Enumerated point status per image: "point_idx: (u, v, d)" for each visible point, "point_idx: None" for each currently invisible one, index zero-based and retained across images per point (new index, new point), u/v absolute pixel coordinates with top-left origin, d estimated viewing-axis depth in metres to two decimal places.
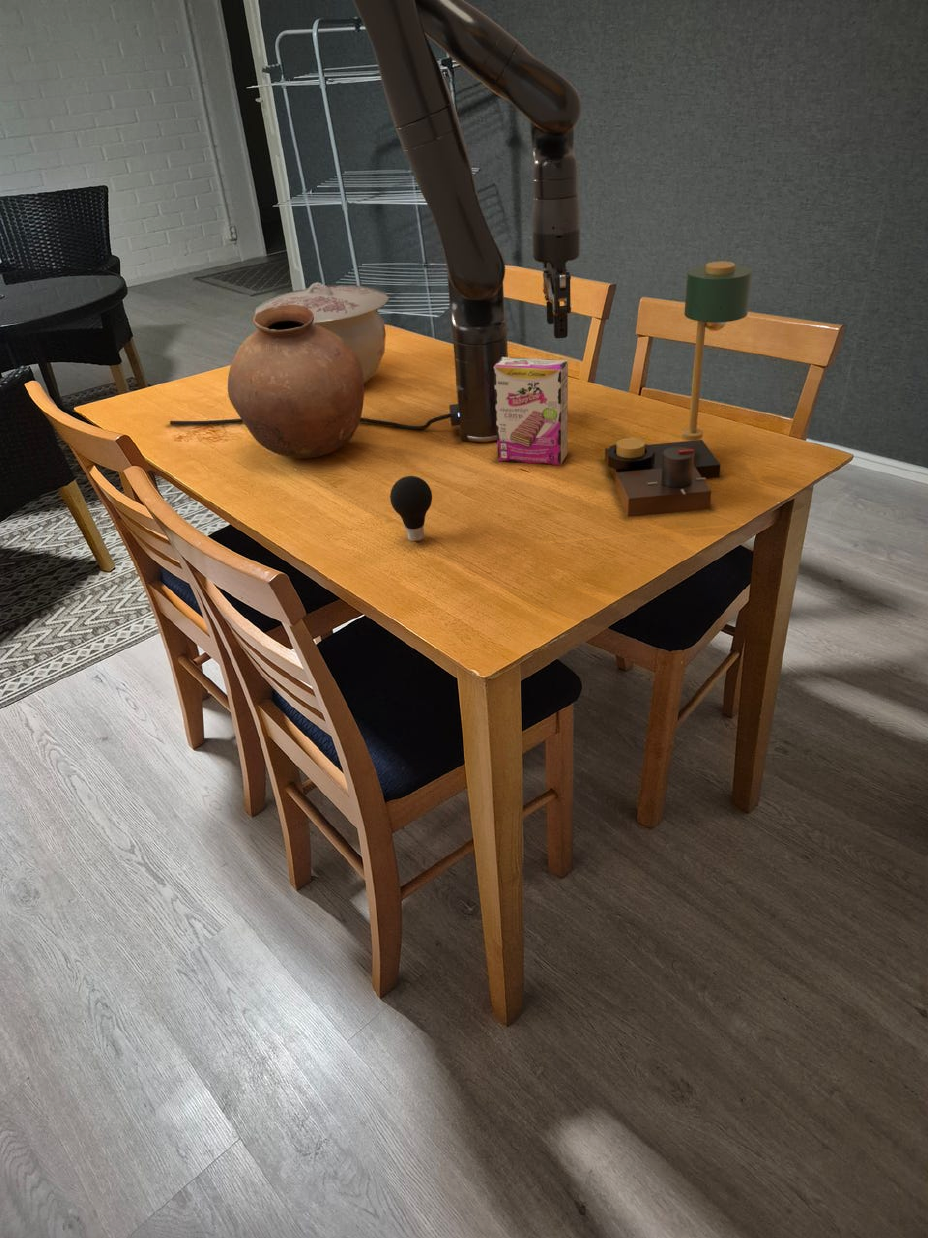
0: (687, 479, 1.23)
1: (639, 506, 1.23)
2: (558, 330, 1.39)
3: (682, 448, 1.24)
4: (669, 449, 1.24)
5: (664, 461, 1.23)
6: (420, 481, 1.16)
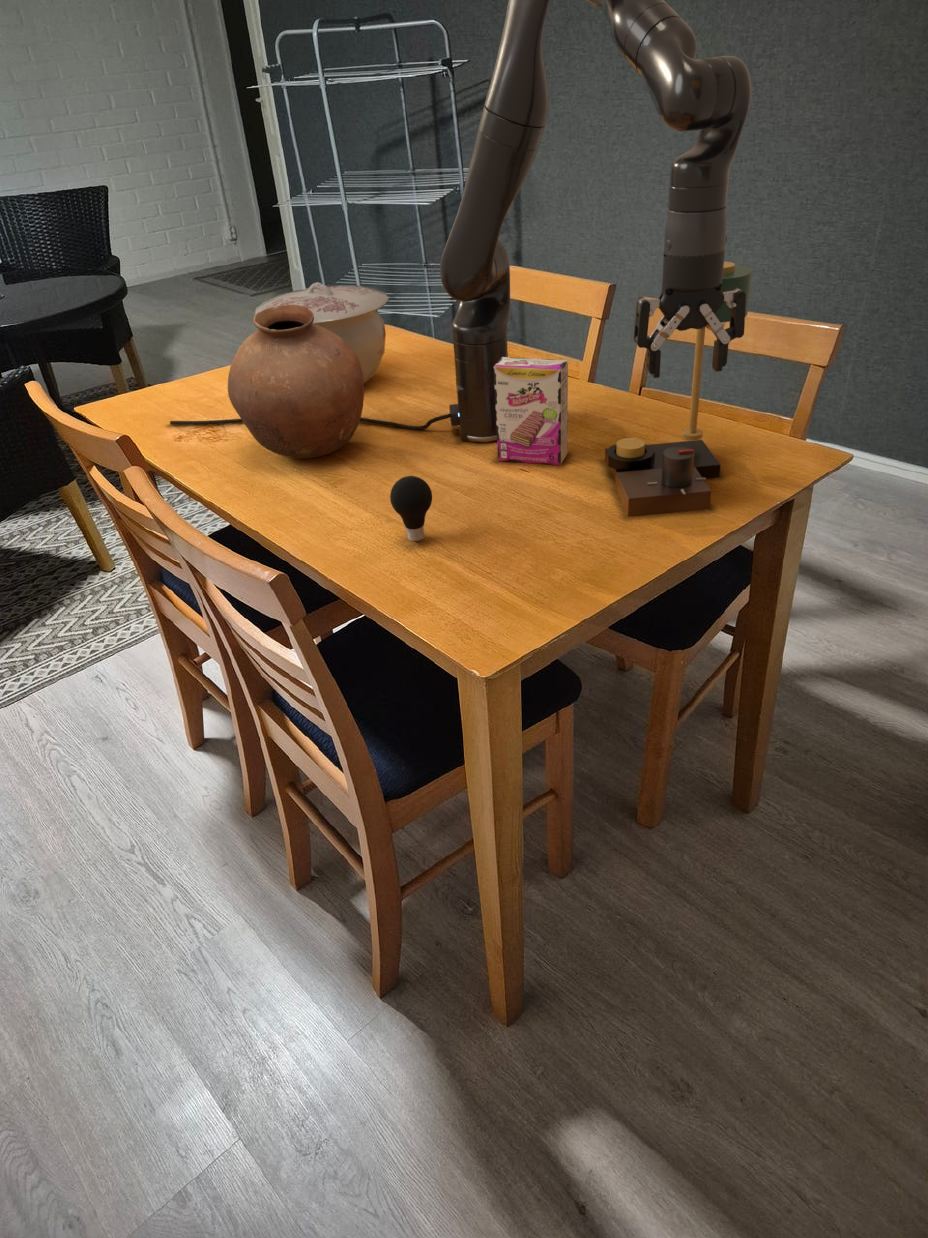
0: (687, 479, 1.23)
1: (639, 506, 1.23)
2: (647, 365, 1.16)
3: (682, 448, 1.24)
4: (669, 449, 1.24)
5: (664, 461, 1.23)
6: (420, 481, 1.16)
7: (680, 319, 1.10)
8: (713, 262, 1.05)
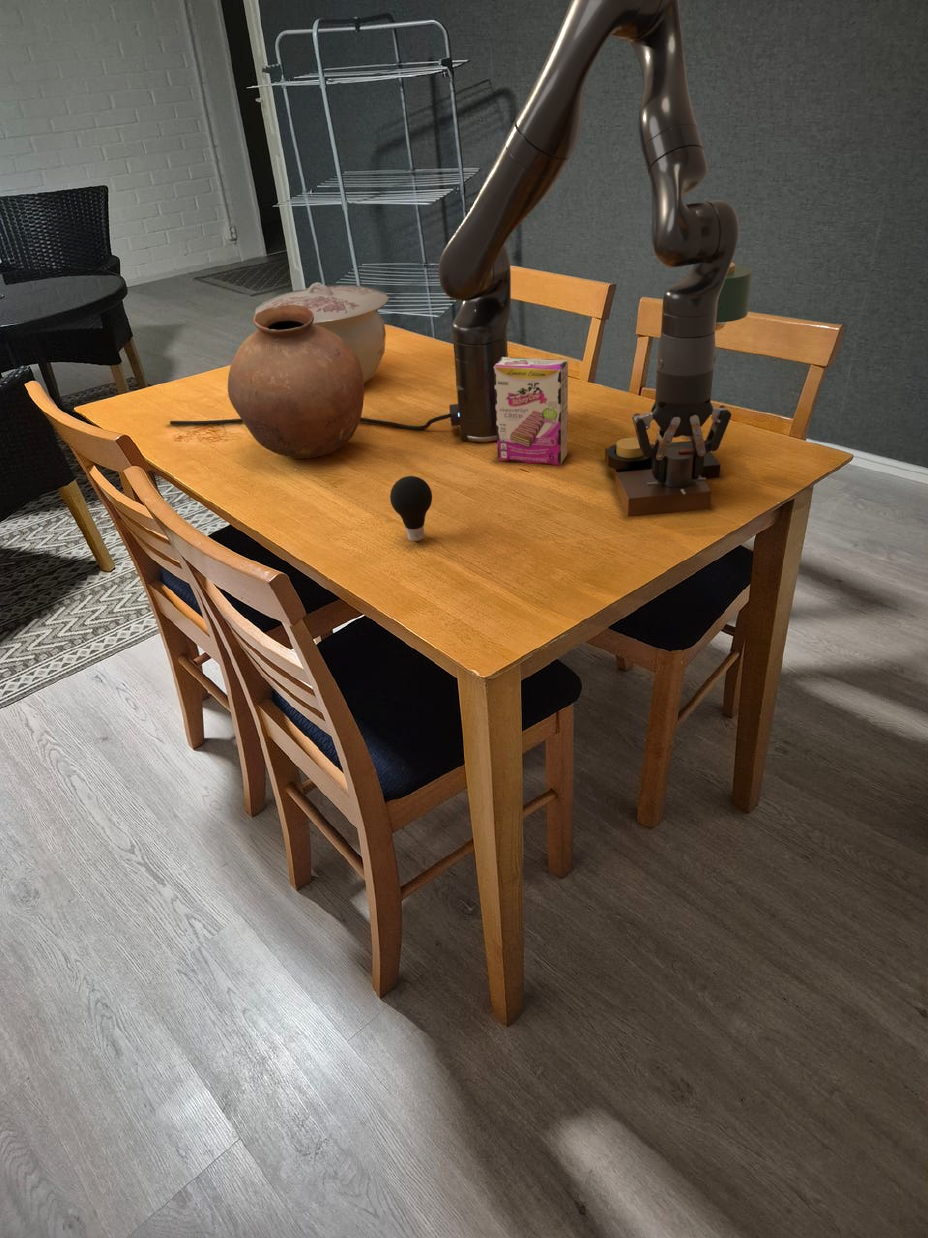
0: (687, 479, 1.23)
1: (639, 506, 1.23)
2: (652, 470, 1.24)
3: (682, 448, 1.24)
4: (669, 449, 1.24)
5: None
6: (420, 481, 1.16)
7: (672, 428, 1.19)
8: (702, 381, 1.13)
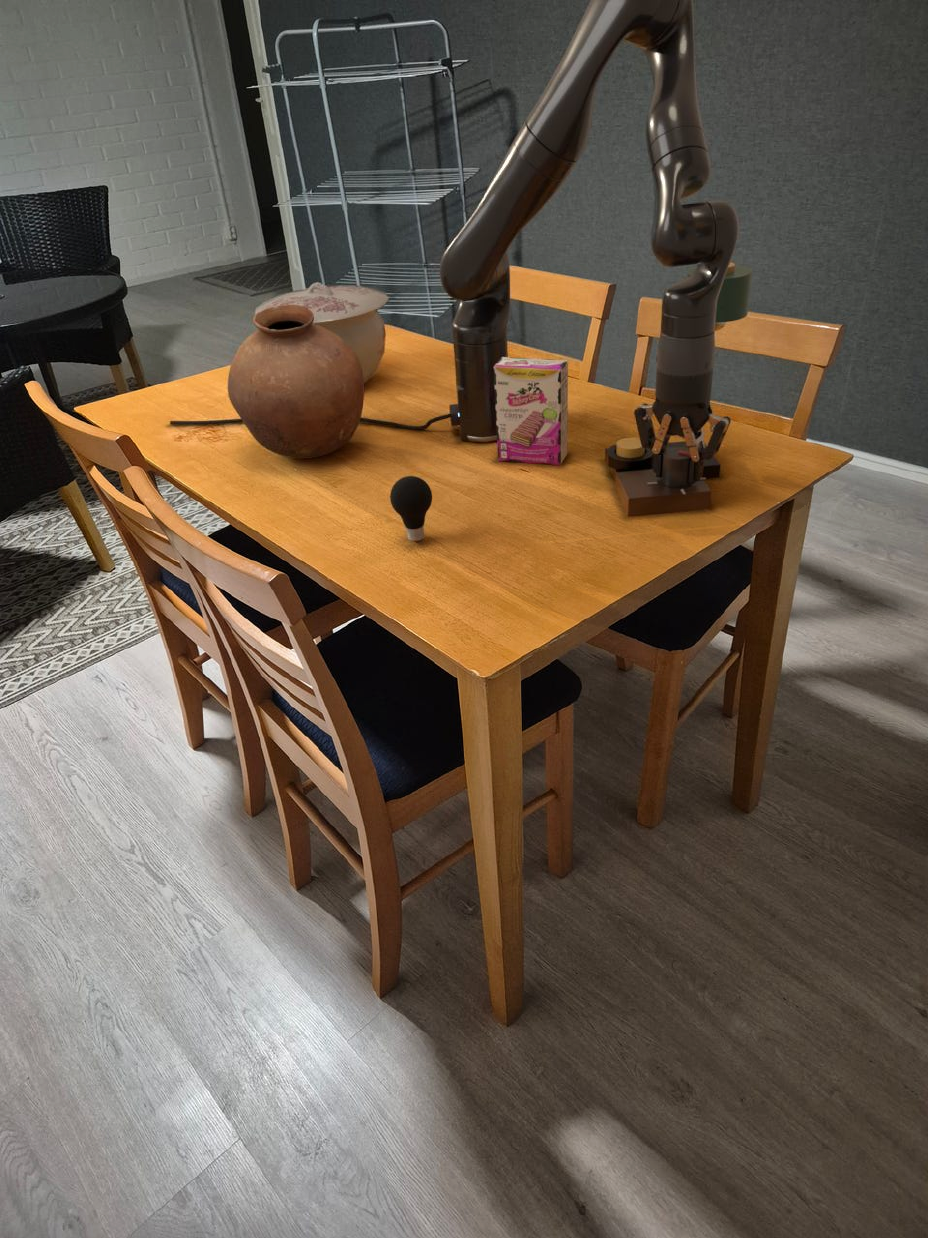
0: (678, 481, 1.23)
1: (639, 506, 1.23)
2: None
3: (688, 450, 1.23)
4: (676, 448, 1.24)
5: None
6: (420, 481, 1.16)
7: (664, 425, 1.20)
8: (684, 383, 1.13)
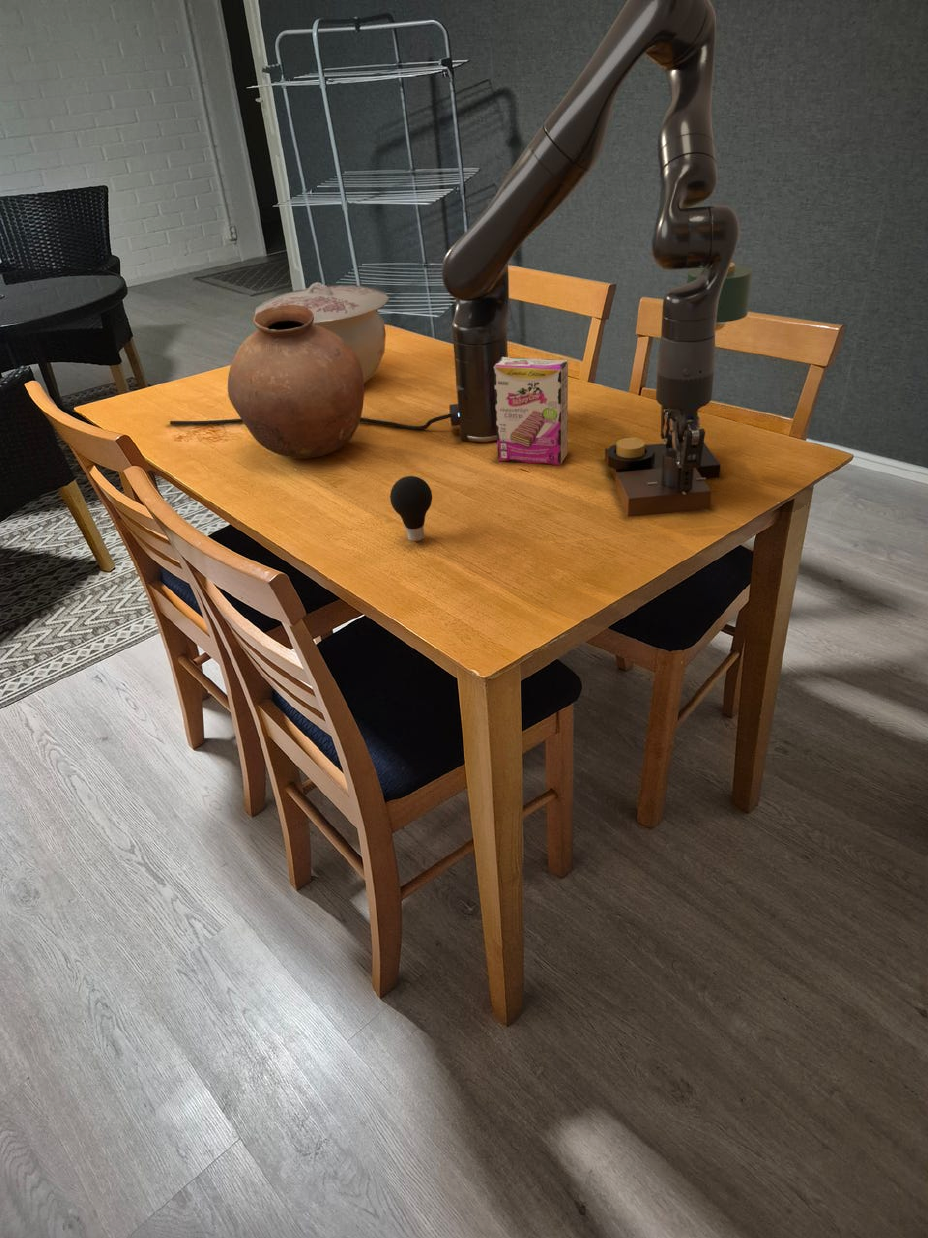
0: (665, 478, 1.24)
1: (639, 506, 1.23)
2: None
3: None
4: None
5: None
6: (420, 481, 1.16)
7: (666, 423, 1.22)
8: (662, 383, 1.15)
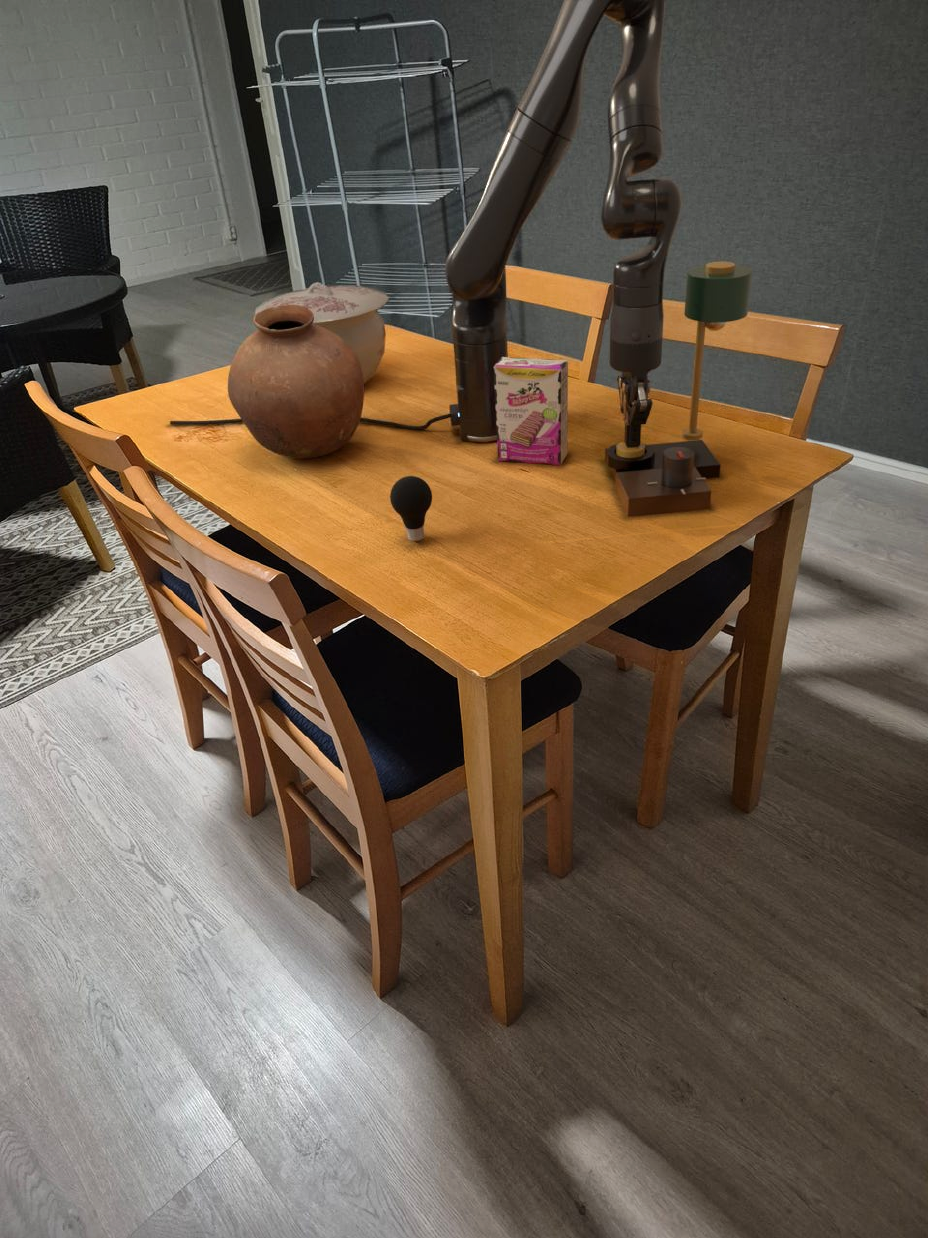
0: (665, 478, 1.24)
1: (639, 506, 1.23)
2: None
3: (689, 454, 1.22)
4: (687, 449, 1.23)
5: None
6: (420, 481, 1.16)
7: (620, 387, 1.29)
8: (614, 348, 1.22)
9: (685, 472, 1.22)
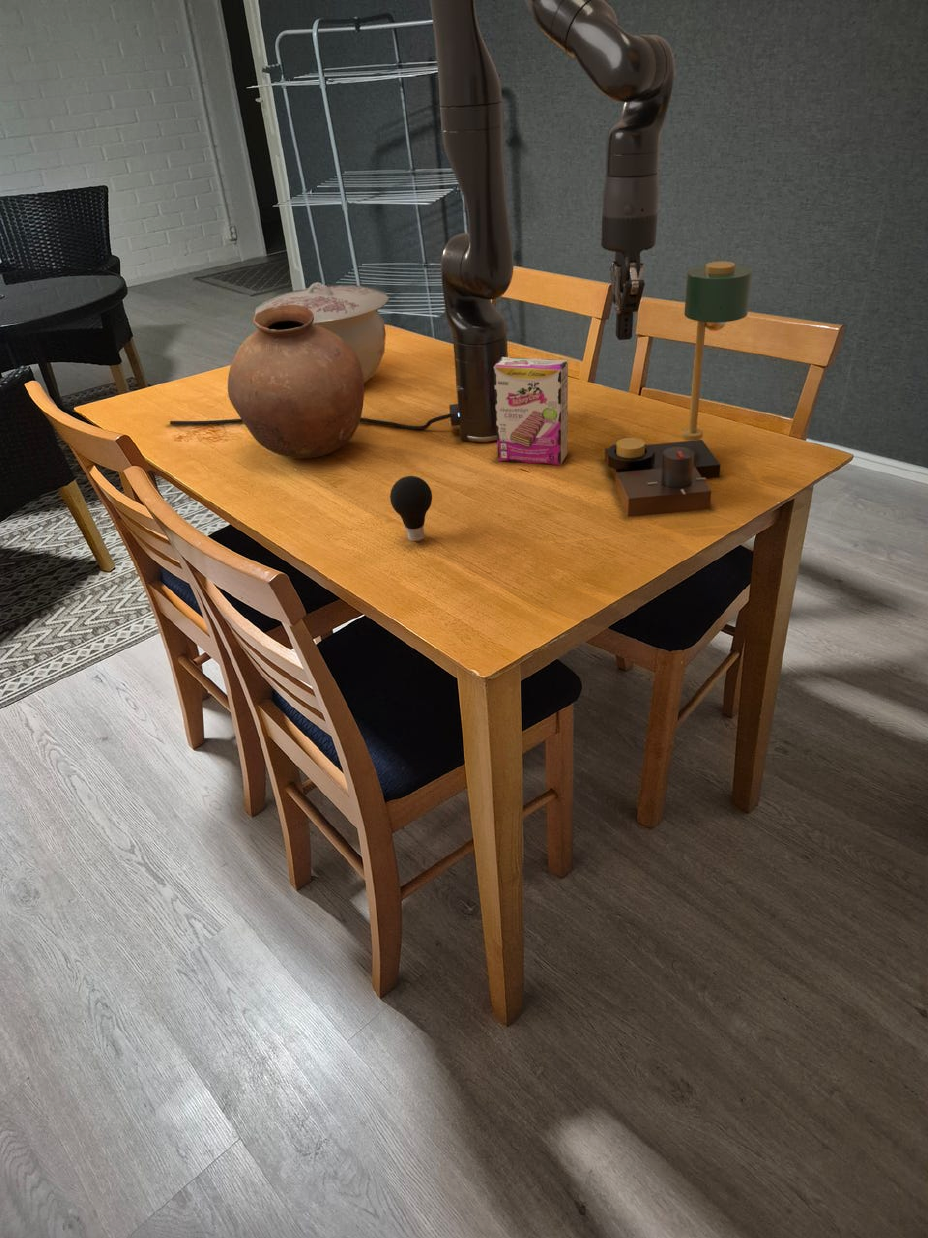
0: (665, 478, 1.24)
1: (639, 506, 1.23)
2: None
3: (689, 454, 1.22)
4: (687, 449, 1.23)
5: None
6: (420, 481, 1.16)
7: (612, 273, 1.23)
8: (606, 224, 1.16)
9: (685, 472, 1.22)
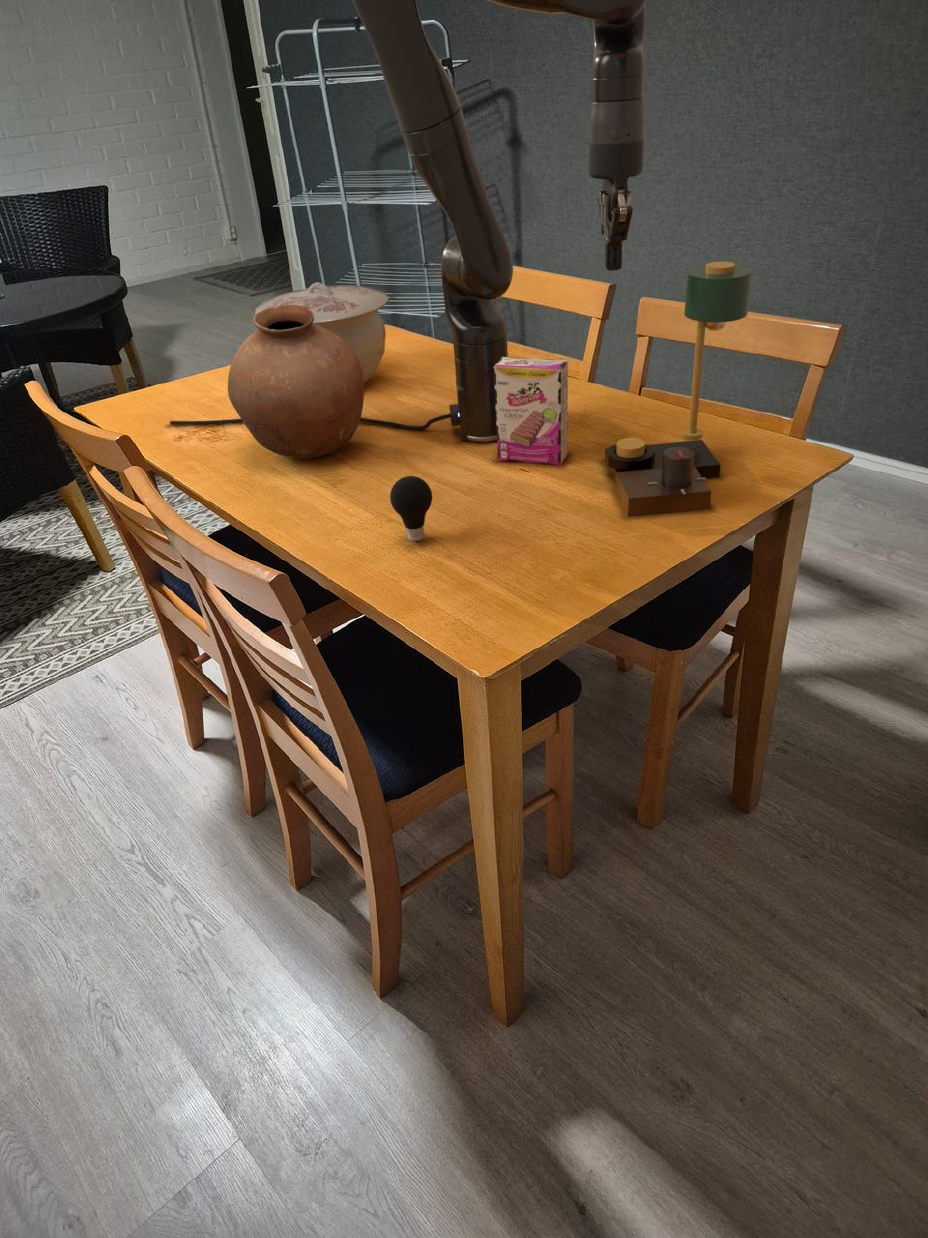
0: (665, 478, 1.24)
1: (639, 506, 1.23)
2: None
3: (689, 454, 1.22)
4: (687, 449, 1.23)
5: None
6: (420, 481, 1.16)
7: (600, 203, 1.24)
8: (593, 151, 1.17)
9: (685, 472, 1.22)
